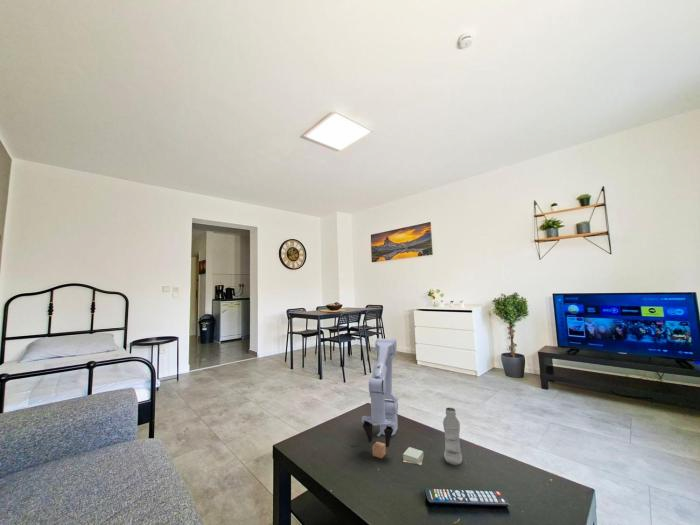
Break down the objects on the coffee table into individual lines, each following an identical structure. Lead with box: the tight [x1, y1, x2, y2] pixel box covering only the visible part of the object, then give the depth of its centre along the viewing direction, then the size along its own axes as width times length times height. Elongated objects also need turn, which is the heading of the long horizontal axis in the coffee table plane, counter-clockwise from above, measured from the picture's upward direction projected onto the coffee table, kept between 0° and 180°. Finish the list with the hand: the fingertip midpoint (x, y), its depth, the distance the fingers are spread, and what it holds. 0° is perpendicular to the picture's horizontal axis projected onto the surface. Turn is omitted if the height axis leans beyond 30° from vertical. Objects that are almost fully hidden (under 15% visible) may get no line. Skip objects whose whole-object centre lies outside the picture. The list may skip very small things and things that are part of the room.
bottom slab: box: [403, 457, 424, 466], centre depth 109 cm, size 7×7×2 cm
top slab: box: [402, 446, 424, 465], centre depth 110 cm, size 6×6×2 cm
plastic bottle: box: [442, 407, 463, 466], centre depth 109 cm, size 6×7×20 cm
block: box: [371, 441, 387, 459], centre depth 113 cm, size 4×4×5 cm
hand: (378, 443), depth 113 cm, fingers open, 7 cm apart
